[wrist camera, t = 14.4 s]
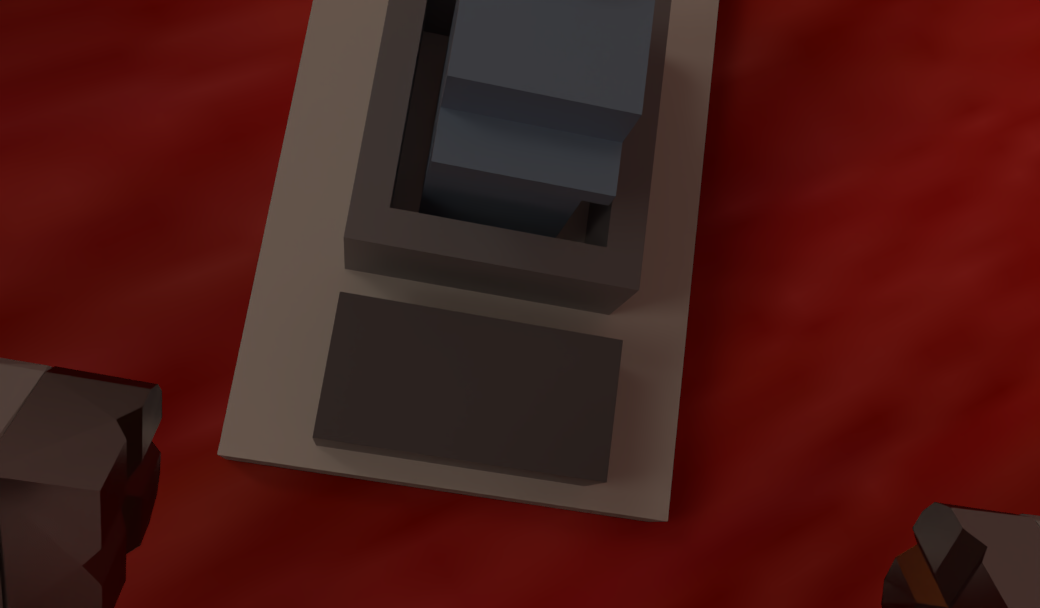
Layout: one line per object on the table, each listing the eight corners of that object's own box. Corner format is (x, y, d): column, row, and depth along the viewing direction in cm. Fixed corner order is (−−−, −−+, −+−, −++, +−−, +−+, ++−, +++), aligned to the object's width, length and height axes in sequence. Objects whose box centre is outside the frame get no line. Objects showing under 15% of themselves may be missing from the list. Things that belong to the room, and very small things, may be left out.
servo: (546, 284, 23) (653, 148, 15) (410, 259, 22) (443, 106, 14) (577, 53, 24) (691, -189, 16) (450, 26, 24) (500, -234, 16)
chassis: (648, 521, 24) (705, 520, 20) (225, 459, 22) (199, 445, 18) (708, -58, 27) (766, -155, 24) (351, -141, 26) (350, -255, 22)
